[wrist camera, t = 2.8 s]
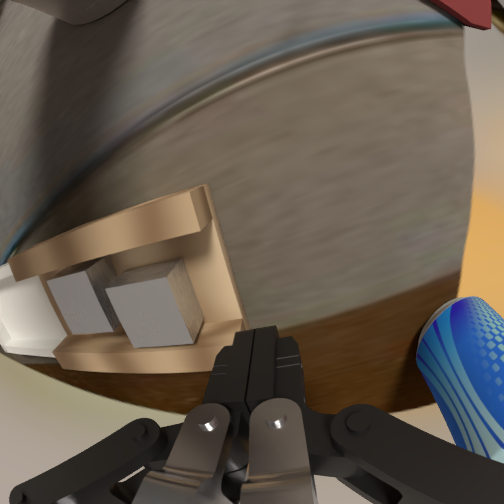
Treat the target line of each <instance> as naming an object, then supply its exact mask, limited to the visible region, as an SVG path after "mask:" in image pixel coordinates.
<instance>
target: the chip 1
mask: <svg viewBox="0 0 504 504" xmlns="http://www.w3.org/2000/svg"><path fill="white" fill-rule="evenodd" d="M116 278H118V276H117V274H116V271H115V269H114V266H113V263H112V261H111V258H110V256H109V255H106V256H102V257H99V258H95V259H92V260H88V261H85V262H81V263H78V264H74V265H71V266H67V267H66V268H65V269H63V270H62V271H60V272H59V273H57V274H56V275H54V276H53V277H51V278H50V279H49V280H47V283H48V286H49V288H50V290H51V292H52V295H53V297H54V299H55V301H56V303H57V305H58V307H59V309H60V311H61V313H62V315H63V317H64V319H65V321H66V323H67V325H68V327H69V328H70V330H71V332H72V334H86V333H103V332H114V331H115V330H116V328H117V327H118V326H119V325H120V323H121V322H120V320H119V318H118V316H117V314H116V312H115V310H114V308H113V306H112V303H111V301H110V299H109V297H108V295H107V292H106V290H105V288H106V287H108V286H109V285H110V284H111V283H112V282H113V281H114V280H115V279H116Z"/></svg>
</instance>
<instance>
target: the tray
mask: <svg viewBox="0 0 504 504" xmlns="http://www.w3.org/2000/svg"><path fill="white" fill-rule="evenodd" d="M66 336H67V334H66V332H65V330H64V328H63V326H62V324H61V323H60V321H59V319H58V317H57V315H56V313H55V311H54V309H53V307H52V305H51V303H50V301H49V299H48V297H47V294H46V292H45V290H44V288H43V285H42V283H41V281H40V278H39V276H38V275H37V276H34V277H31V278H28V279H25V280H21V281H18V282H16V281H15V278H14V276H13V273H12V271H11V268H10V266H9V263H6V264H4V265H2V266H0V344H1V346H2V348H3V349H4V351H5V352H9V353H16V354H24V355H33V356H43V357H55V356H54V354H53V353H52V351H53V350H54V349H55V348H56V347H57V346H58V345H59V344H60V343H61V342H62V340H63V339H64V338H65V337H66ZM55 358H56V357H55Z"/></svg>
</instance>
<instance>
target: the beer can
mask: <svg viewBox="0 0 504 504" xmlns="http://www.w3.org/2000/svg"><path fill="white" fill-rule="evenodd" d="M416 362H417V366H418V368H419V370H420V371H421V373H422V375H423V377H424V379H425V381H426V383H427V385H428V386H429V388H430V390H431V392H432V394H433V396H434V398H435V400H436V402H437V404H438V406H439V408H440V411H441V413H442V414H443V417H444V419H445V421H446V423H447V426H448V428H449V430H450V432H451V434H452V436H453V439H454V441H455V444H456V446H459V447H461V448H463V449H466V450H468V451H471V452H474V453H476V454H479V455H481V456H484V457H487V458H490V459H492V460H495V461H498V462H501V463H504V319H503V318H502V317H501V316H500V315H499V314H498V313H497V312H496V311H495V310H493V309H492V308H491V307H490V306H489V305H488V304H487V303H486V302H485V301H484V300H483V299H481V298H479V297H475V296H472V297H471V296H470V297H460V298H456V299H453V300H451V301H449V302H447V303H445V304H444V305H442V306H441V307H440V308H439V309H438V310H437V311H436V312H435V313H434V314H433V315H432V316H431V317H430V318H429V320H428V321H427V322H426V324H425V326H424V327H423V329H422V332H421V334H420V337H419V341H418V348H417V353H416Z"/></svg>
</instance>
